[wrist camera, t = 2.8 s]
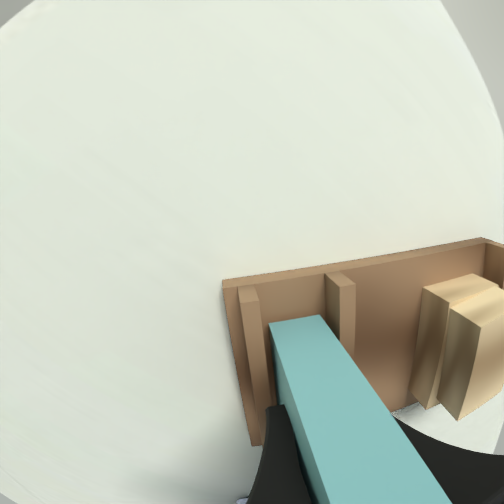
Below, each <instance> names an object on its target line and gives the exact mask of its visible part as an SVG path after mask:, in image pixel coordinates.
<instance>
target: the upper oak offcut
mask: <svg viewBox="0 0 504 504" xmlns="http://www.w3.org/2000/svg"><path fill="white" fill-rule="evenodd" d="M503 384H504V290H503V289H501V288H499V287H496V286H494V287H492V288H490V289H488V290H486V291H484V292H482V293H480V294H478V295H476V296H474V297H472V298H470V299H468V300H466V301H464V302H462V303H460V304H457V305H455V306H453V307H451V308H450V315H449V325H448V334H447V342H446V350H445V356H444V362H443V368H442V374H441V379H440V384H439V389H438V394H437V400H438V401H439V402H440V403H441V404H442V405H443V406H444V407H445V408H446V409H447V411H448V412H449V413H450V414H451V415H452V416H453V417H454V418H455V419H456V420H457V421H459V420H460V419H462V418H464V417H465V416H467V415H468V414H470V413H471V412H473V411H474V410H476V409H477V408H479V407H480V406H482V405H483V404H484V403H486V402H487V401H489V400H490V399H491V398H493V397H494V396H495V395H497V394H498V393H499V392H501V390H502V387H503Z"/></svg>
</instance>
